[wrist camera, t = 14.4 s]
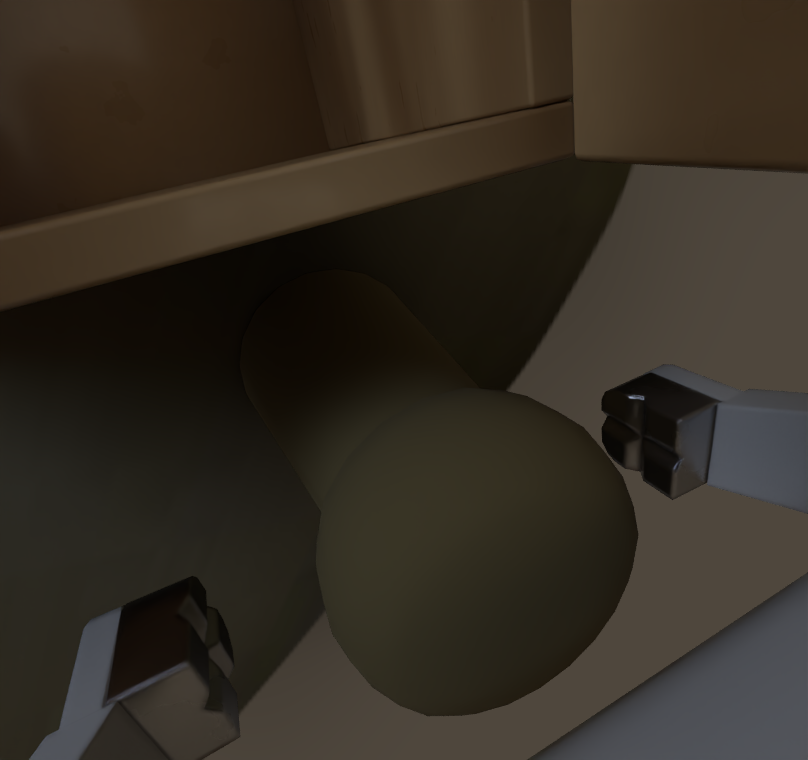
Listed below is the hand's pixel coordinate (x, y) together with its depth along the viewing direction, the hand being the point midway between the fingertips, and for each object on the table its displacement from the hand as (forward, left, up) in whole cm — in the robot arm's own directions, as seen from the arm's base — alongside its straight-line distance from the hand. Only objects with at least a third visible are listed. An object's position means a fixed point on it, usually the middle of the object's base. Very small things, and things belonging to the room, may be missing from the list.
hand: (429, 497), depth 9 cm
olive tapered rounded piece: (0, 0, -8) cm, 8 cm away
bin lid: (0, +12, +9) cm, 15 cm away
